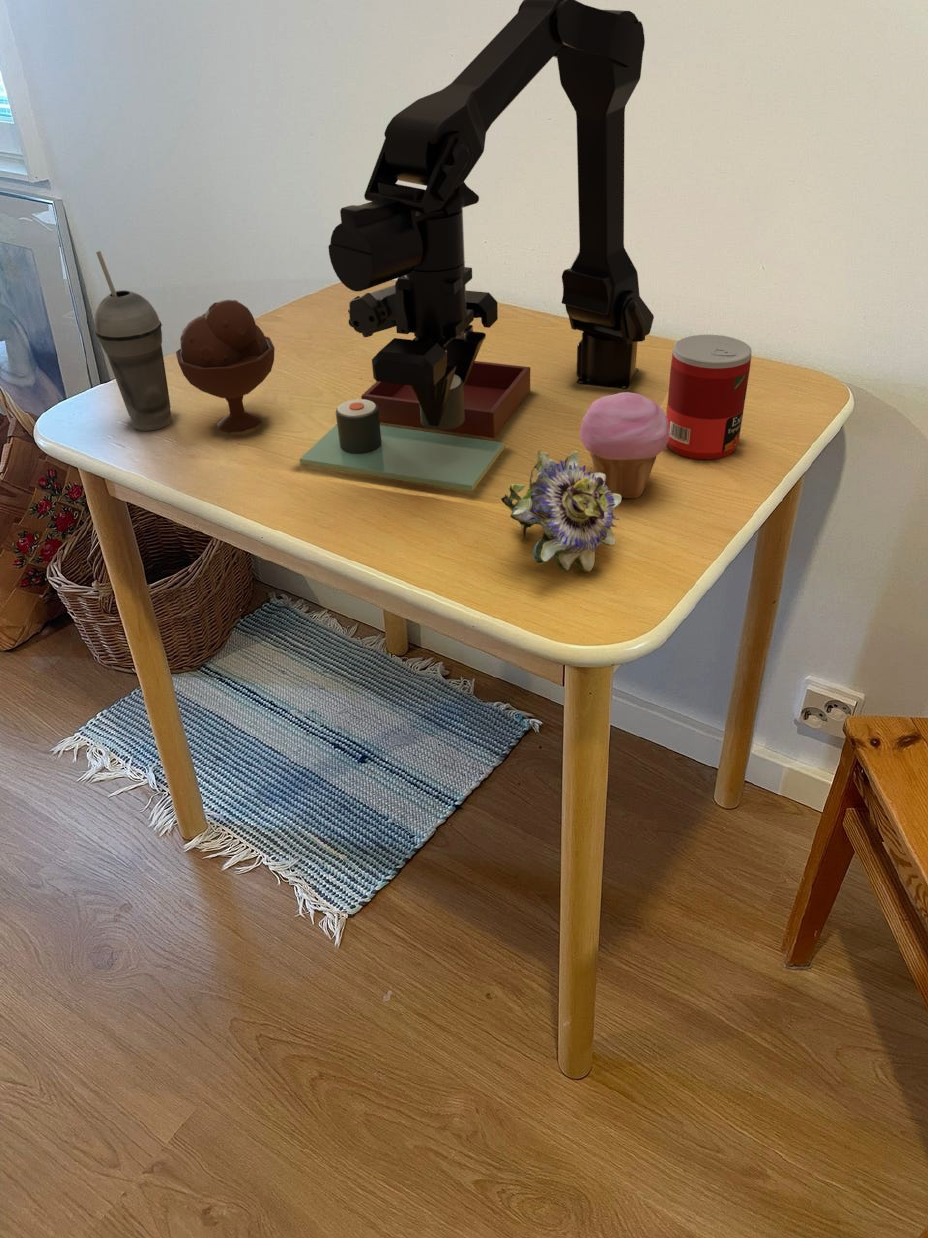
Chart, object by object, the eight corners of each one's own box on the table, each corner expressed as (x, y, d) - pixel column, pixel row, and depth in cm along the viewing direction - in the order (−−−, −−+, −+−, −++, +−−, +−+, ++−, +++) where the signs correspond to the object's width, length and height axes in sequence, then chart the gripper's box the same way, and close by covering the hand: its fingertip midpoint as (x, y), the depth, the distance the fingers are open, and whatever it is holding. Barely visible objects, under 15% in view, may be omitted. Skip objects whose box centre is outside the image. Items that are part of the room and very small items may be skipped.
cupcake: (658, 514, 94) (667, 420, 88) (570, 505, 96) (574, 412, 90) (668, 471, 101) (677, 381, 95) (586, 464, 103) (590, 375, 97)
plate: (504, 452, 105) (504, 442, 105) (472, 496, 98) (472, 485, 97) (342, 429, 112) (341, 419, 111) (300, 468, 104) (299, 458, 104)
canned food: (738, 463, 102) (753, 363, 95) (662, 458, 103) (671, 360, 96) (737, 430, 107) (751, 335, 101) (664, 426, 109) (673, 332, 102)
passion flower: (582, 614, 90) (560, 569, 79) (491, 560, 95) (458, 510, 84) (648, 519, 92) (635, 461, 81) (555, 469, 96) (531, 408, 85)
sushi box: (530, 394, 117) (530, 366, 115) (494, 442, 107) (493, 412, 105) (409, 380, 122) (407, 352, 120) (364, 424, 112) (361, 395, 110)
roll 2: (471, 413, 101) (469, 372, 98) (455, 432, 98) (453, 390, 95) (430, 408, 103) (428, 367, 100) (413, 427, 99) (410, 385, 96)
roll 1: (388, 437, 107) (384, 399, 104) (370, 456, 103) (366, 417, 101) (351, 432, 108) (346, 394, 105) (332, 450, 105) (327, 411, 102)
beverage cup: (174, 435, 112) (132, 260, 100) (113, 436, 112) (64, 262, 100) (189, 408, 118) (151, 240, 106) (131, 410, 118) (86, 242, 106)
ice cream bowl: (276, 400, 119) (256, 278, 110) (293, 438, 110) (272, 309, 101) (190, 415, 116) (161, 291, 107) (199, 455, 108) (169, 324, 99)
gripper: (397, 229, 100) (408, 371, 109) (311, 287, 86) (333, 444, 95) (498, 236, 96) (500, 382, 106) (426, 297, 83) (436, 460, 92)
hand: (443, 415), depth 100 cm, fingers closed on roll 2, 4 cm apart
